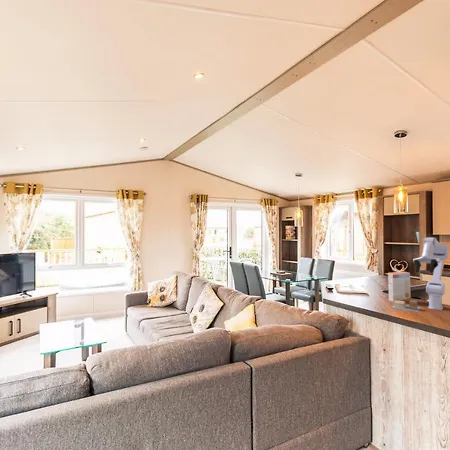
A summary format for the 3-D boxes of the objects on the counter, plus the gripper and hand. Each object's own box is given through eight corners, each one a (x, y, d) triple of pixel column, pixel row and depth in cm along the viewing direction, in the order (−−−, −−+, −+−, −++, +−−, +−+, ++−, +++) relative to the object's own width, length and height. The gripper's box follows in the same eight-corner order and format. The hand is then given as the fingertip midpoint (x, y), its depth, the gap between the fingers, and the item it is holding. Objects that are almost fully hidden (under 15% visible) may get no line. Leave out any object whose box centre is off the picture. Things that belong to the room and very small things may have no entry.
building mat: (394, 304, 233) (394, 303, 233) (421, 307, 224) (421, 306, 224) (390, 308, 222) (390, 308, 222) (418, 312, 212) (418, 311, 212)
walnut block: (410, 307, 222) (410, 300, 222) (417, 308, 220) (417, 301, 220) (409, 309, 219) (409, 301, 219) (416, 309, 217) (416, 302, 217)
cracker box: (405, 299, 246) (404, 271, 246) (410, 301, 240) (410, 272, 240) (388, 300, 244) (387, 272, 244) (393, 302, 238) (393, 273, 238)
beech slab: (395, 304, 230) (395, 300, 230) (405, 306, 227) (405, 301, 227) (393, 306, 225) (393, 302, 225) (403, 307, 222) (403, 303, 222)
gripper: (412, 250, 212) (408, 267, 205) (438, 249, 200) (435, 268, 194) (417, 256, 215) (413, 274, 209) (442, 256, 204) (439, 275, 197)
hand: (423, 271), depth 202 cm, fingers open, 7 cm apart
